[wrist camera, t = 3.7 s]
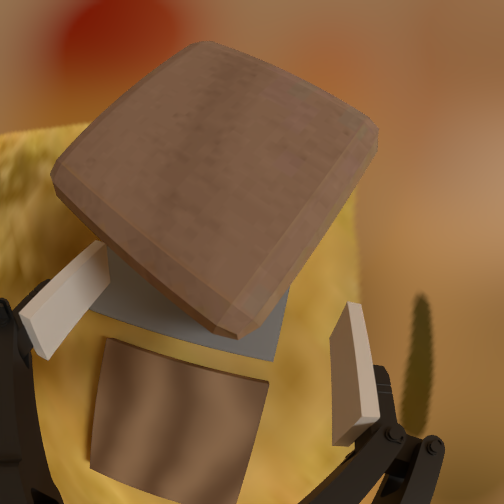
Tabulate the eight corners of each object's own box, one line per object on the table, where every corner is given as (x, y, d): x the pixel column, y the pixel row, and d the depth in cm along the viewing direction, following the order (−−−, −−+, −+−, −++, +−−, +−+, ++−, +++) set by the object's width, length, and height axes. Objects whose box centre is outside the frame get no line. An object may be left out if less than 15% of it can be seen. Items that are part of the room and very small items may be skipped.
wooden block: (158, 276, 28) (33, 172, 9) (221, 199, 30) (200, 29, 11) (241, 339, 27) (240, 356, 7) (301, 255, 29) (394, 123, 10)
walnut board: (95, 463, 23) (89, 468, 21) (113, 337, 27) (106, 338, 25) (233, 507, 22) (232, 514, 21) (268, 381, 26) (269, 384, 25)
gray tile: (86, 308, 27) (85, 307, 27) (143, 144, 32) (142, 143, 32) (272, 361, 27) (273, 361, 26) (310, 174, 31) (310, 173, 31)
